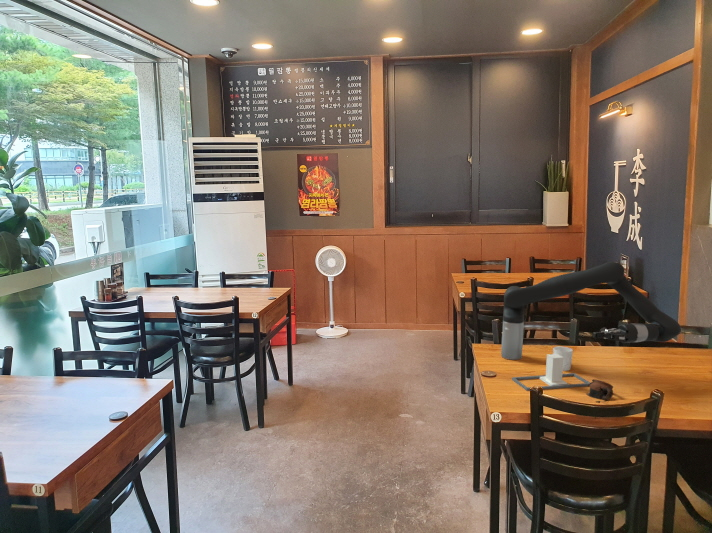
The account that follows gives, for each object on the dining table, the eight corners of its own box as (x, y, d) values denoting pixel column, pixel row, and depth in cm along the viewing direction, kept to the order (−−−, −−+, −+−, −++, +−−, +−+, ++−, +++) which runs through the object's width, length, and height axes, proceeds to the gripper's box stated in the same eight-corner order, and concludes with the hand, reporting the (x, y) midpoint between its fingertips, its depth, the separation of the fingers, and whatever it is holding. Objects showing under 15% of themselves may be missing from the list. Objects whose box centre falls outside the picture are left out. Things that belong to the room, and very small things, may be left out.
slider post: (539, 379, 216) (541, 352, 214) (555, 377, 217) (556, 351, 215) (551, 387, 207) (553, 360, 205) (568, 385, 208) (569, 359, 207)
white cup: (568, 368, 233) (569, 346, 231) (573, 374, 225) (575, 352, 224) (549, 367, 234) (551, 346, 232) (554, 374, 226) (555, 351, 224)
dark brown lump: (578, 396, 203) (585, 376, 204) (598, 406, 204) (605, 386, 206) (599, 401, 191) (606, 379, 193) (620, 411, 193) (627, 389, 194)
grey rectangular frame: (511, 383, 215) (511, 377, 215) (573, 378, 221) (574, 373, 220) (526, 394, 204) (526, 388, 203) (591, 389, 209) (592, 383, 209)
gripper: (621, 320, 222) (584, 322, 218) (644, 328, 209) (605, 330, 205) (620, 337, 223) (583, 339, 219) (643, 346, 210) (604, 349, 207)
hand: (594, 335), depth 212 cm, fingers closed
